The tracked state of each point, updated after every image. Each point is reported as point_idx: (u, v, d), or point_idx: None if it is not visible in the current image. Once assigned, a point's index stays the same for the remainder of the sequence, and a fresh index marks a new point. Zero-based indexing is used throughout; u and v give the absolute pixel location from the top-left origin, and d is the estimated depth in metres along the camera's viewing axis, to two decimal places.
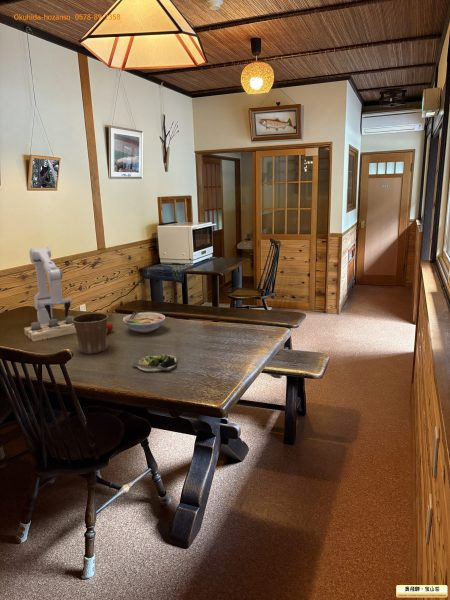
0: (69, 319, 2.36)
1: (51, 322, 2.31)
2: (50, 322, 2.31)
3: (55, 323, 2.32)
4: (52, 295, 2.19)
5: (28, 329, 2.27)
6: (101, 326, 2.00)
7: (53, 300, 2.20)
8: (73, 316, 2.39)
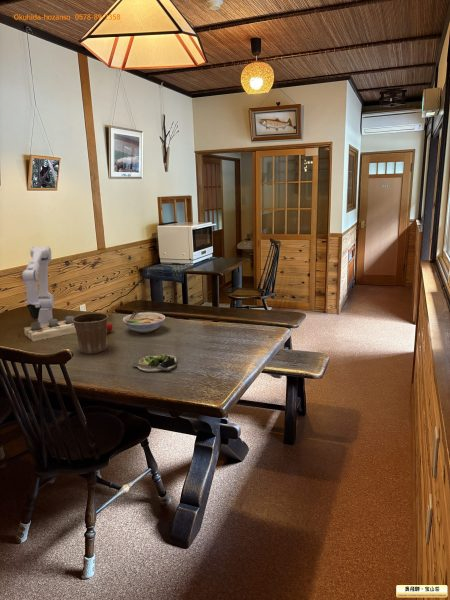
0: (69, 319, 2.36)
1: (51, 322, 2.31)
2: (50, 322, 2.31)
3: (55, 323, 2.32)
4: None
5: (28, 329, 2.27)
6: (101, 326, 2.00)
7: None
8: (73, 316, 2.39)
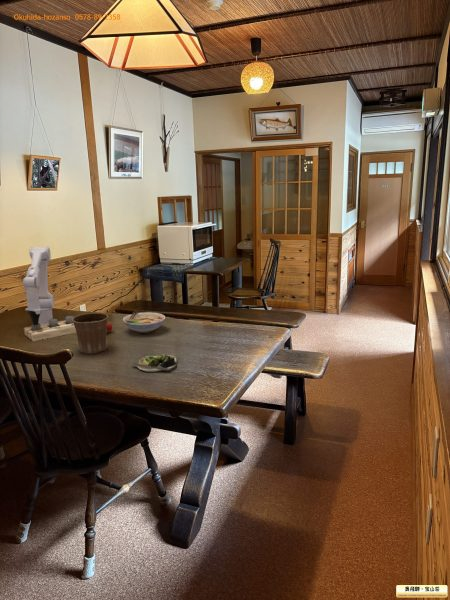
0: (69, 319, 2.36)
1: (51, 322, 2.31)
2: (50, 322, 2.31)
3: (55, 323, 2.32)
4: None
5: (28, 329, 2.27)
6: (101, 326, 2.00)
7: None
8: (73, 316, 2.39)
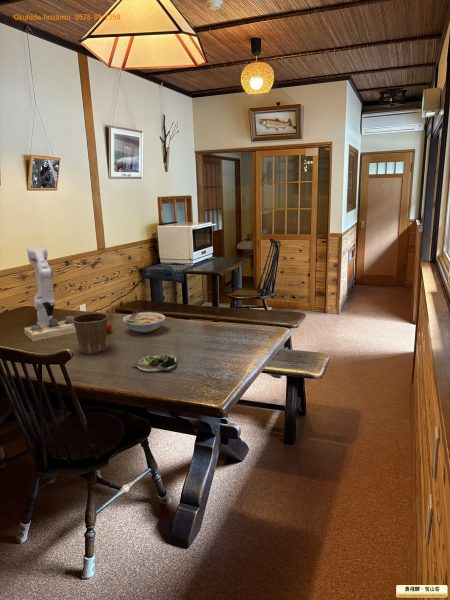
0: (69, 319, 2.36)
1: (51, 322, 2.31)
2: (50, 322, 2.31)
3: (55, 323, 2.32)
4: None
5: (28, 329, 2.27)
6: (101, 326, 2.00)
7: None
8: (73, 316, 2.39)
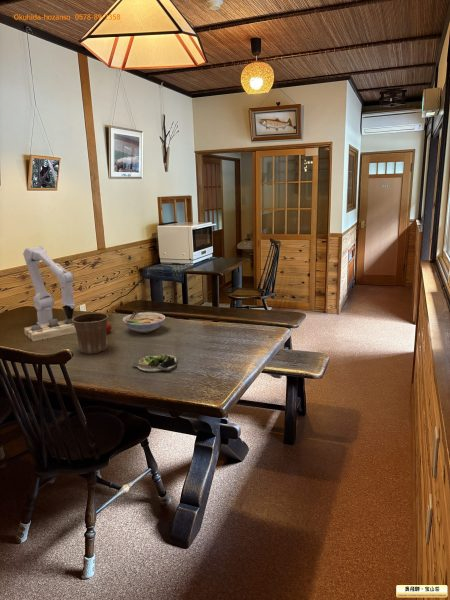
0: (69, 321, 2.37)
1: (51, 322, 2.31)
2: (50, 322, 2.31)
3: (55, 323, 2.32)
4: None
5: (28, 329, 2.27)
6: (101, 326, 2.00)
7: None
8: None
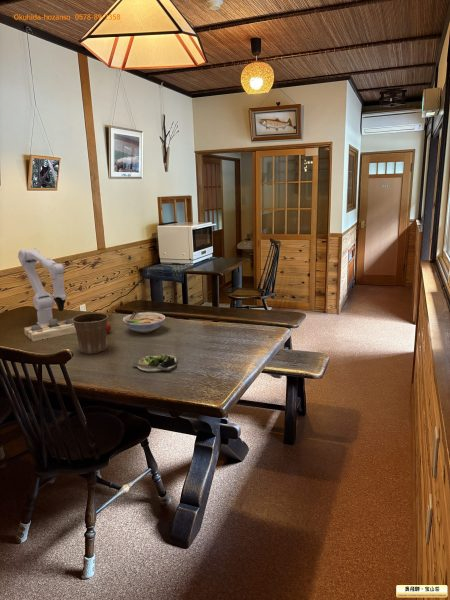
0: (69, 322, 2.37)
1: (51, 322, 2.31)
2: (50, 322, 2.31)
3: (55, 323, 2.32)
4: None
5: (28, 329, 2.27)
6: (101, 326, 2.00)
7: None
8: None
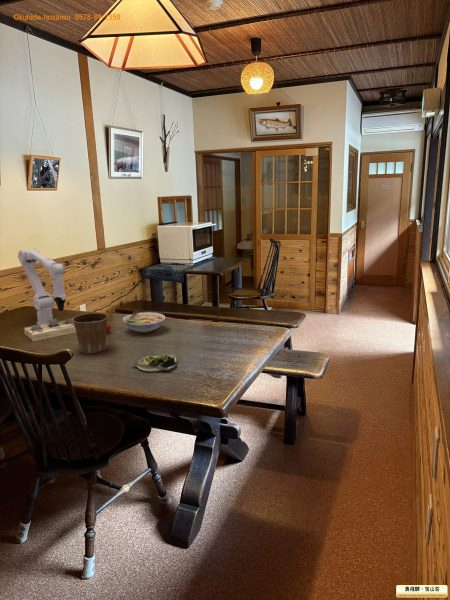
0: (69, 322, 2.37)
1: (51, 322, 2.31)
2: (50, 322, 2.31)
3: (55, 323, 2.32)
4: None
5: (28, 329, 2.27)
6: (101, 326, 2.00)
7: None
8: None
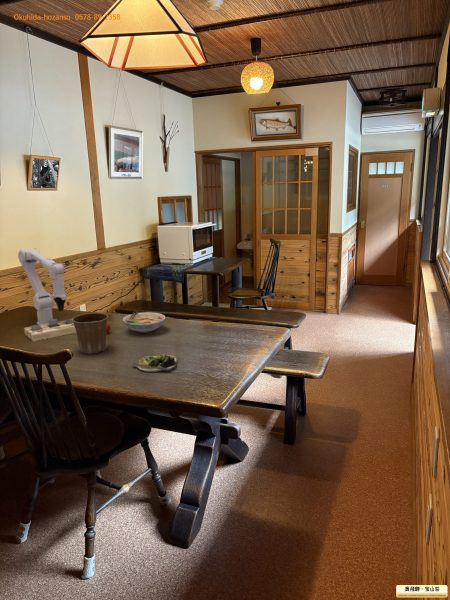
0: (69, 322, 2.37)
1: (51, 322, 2.31)
2: (50, 322, 2.31)
3: (55, 323, 2.32)
4: None
5: (28, 329, 2.27)
6: (101, 326, 2.00)
7: None
8: None
